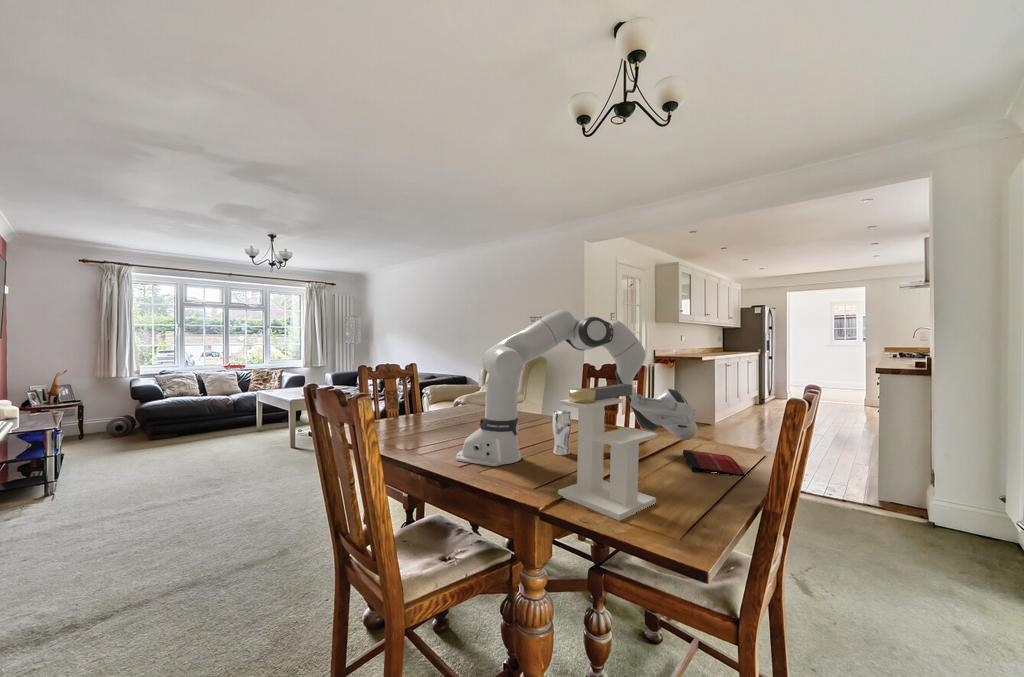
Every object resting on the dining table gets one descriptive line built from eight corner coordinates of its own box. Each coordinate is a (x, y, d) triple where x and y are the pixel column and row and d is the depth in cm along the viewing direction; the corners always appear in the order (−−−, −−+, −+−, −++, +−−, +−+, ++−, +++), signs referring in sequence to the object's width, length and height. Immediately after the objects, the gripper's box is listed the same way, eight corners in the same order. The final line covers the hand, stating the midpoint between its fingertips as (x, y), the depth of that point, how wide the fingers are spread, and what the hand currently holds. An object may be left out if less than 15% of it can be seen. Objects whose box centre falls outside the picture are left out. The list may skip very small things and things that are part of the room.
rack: (619, 520, 103) (621, 412, 103) (558, 495, 118) (559, 400, 118) (656, 503, 114) (658, 404, 113) (595, 482, 129) (596, 395, 128)
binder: (691, 466, 139) (682, 448, 160) (691, 473, 139) (682, 455, 160) (746, 473, 135) (730, 454, 156) (746, 480, 135) (729, 460, 156)
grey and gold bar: (583, 404, 112) (583, 393, 112) (563, 400, 117) (563, 389, 117) (637, 395, 128) (638, 385, 128) (617, 392, 133) (618, 382, 133)
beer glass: (575, 453, 158) (575, 412, 158) (563, 457, 154) (563, 414, 153) (560, 449, 163) (560, 409, 163) (548, 452, 159) (548, 411, 158)
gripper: (644, 402, 155) (625, 385, 147) (700, 410, 140) (682, 392, 132) (639, 418, 154) (619, 402, 146) (695, 428, 138) (676, 411, 130)
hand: (649, 397), depth 139 cm, fingers open, 8 cm apart
